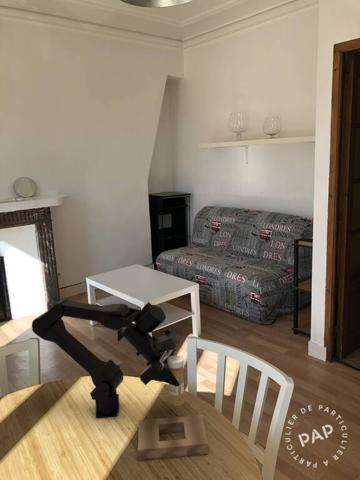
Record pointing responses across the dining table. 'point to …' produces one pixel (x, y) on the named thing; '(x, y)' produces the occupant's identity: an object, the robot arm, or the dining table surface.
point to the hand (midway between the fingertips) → (180, 380)
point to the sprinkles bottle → (177, 370)
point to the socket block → (174, 448)
